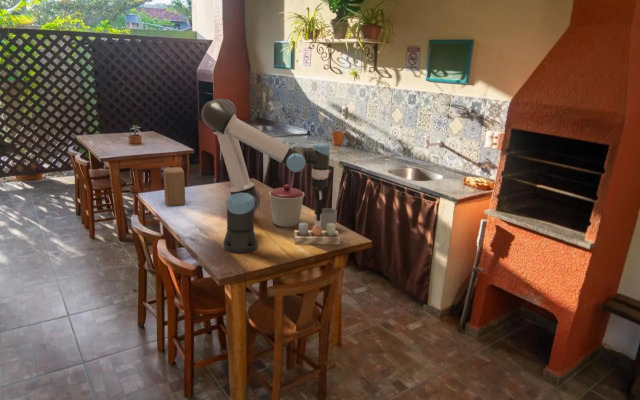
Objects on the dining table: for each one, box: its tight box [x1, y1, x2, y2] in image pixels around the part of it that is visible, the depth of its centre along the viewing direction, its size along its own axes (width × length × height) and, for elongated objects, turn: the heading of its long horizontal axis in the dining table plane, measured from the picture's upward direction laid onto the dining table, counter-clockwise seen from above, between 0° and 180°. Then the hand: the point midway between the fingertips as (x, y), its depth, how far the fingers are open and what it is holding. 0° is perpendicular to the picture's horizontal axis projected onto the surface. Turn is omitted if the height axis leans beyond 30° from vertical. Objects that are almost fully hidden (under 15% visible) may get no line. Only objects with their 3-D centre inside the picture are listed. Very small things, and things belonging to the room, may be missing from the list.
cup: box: [321, 207, 338, 231], centre depth 227 cm, size 8×8×10 cm
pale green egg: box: [326, 223, 337, 236], centre depth 213 cm, size 4×4×5 cm
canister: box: [268, 184, 305, 228], centre depth 230 cm, size 18×18×21 cm
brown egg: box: [311, 224, 322, 236], centre depth 212 cm, size 4×4×5 cm
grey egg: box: [298, 222, 309, 236], centre depth 211 cm, size 4×4×5 cm
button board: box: [293, 229, 341, 245], centre depth 213 cm, size 21×10×3 cm, turn 96°
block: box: [163, 166, 186, 207], centre depth 253 cm, size 10×10×20 cm
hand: (317, 226), depth 212 cm, fingers closed
